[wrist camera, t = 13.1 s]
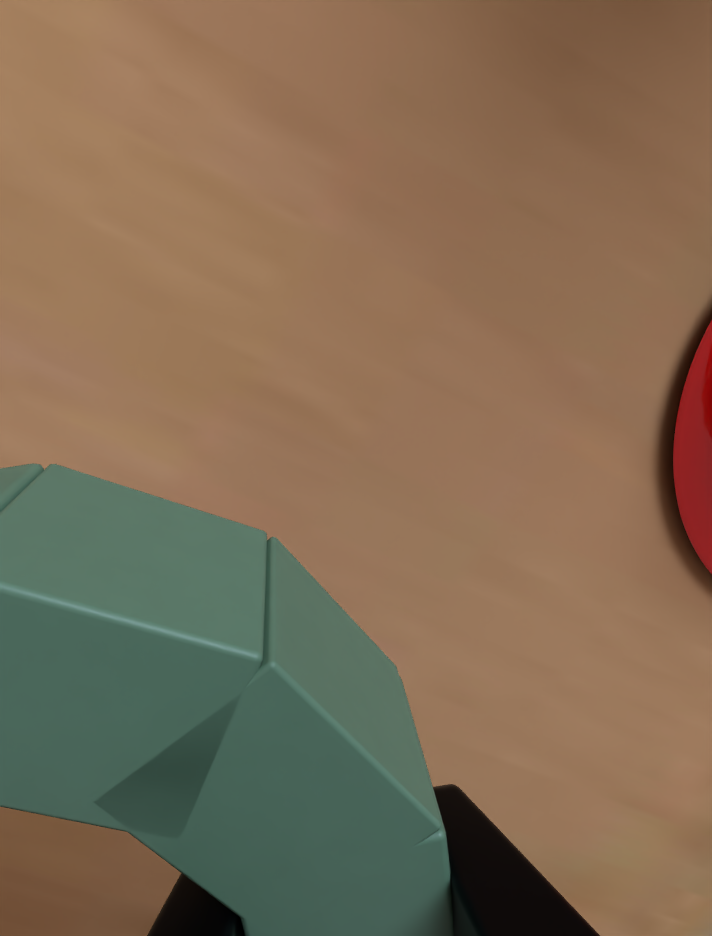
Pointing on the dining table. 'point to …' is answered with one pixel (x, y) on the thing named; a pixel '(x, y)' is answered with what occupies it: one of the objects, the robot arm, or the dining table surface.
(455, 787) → the robot arm
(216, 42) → the dining table surface
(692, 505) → the hamburger
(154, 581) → the sage ring
